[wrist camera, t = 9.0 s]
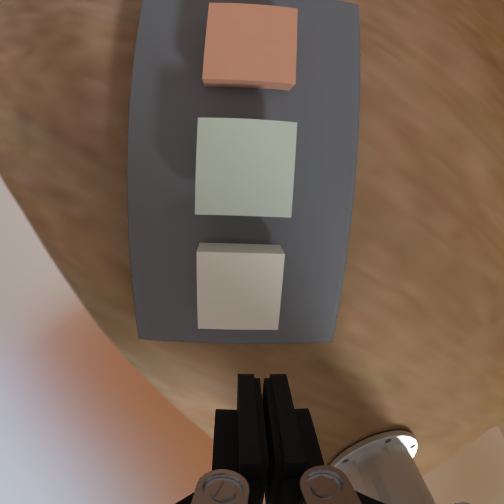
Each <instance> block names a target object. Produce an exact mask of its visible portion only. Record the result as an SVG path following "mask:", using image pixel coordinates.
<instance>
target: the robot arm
mask: <svg viewBox="0 0 504 504" xmlns="http://www.w3.org/2000/svg"><path fill="white" fill-rule="evenodd" d="M417 448H418V442H417V440H416V438H415V436H414V435H413V434H412V433H410V432H408V431H402V430H398V431H389V432H384V433H380V434H377V435H374V436H371V437H369V438H366V439H364V440H362V441H360V442H358V443H356V444H354V445H353V446H351V447H349V448H348V449H346V450H345V451H343V452H342V453H341V454H340V455H338V456H337V457H336V458H335V459H334V460H333V461H332V463H331V464H330V465H329V466H326V465H324V462H323V458H322V454H321V451H320V447H319V444H318V440H317V436H316V433H315V429H314V426H313V422H312V419H311V415H310V412H309V410H308V408H305V409H294V406H293V402H292V397H291V393H290V388H289V384H288V380H287V376H286V374H270V378H264V384H263V395H262V394H261V385H260V378H254V374H238V391H237V410H225V409H216V412H215V427H214V444H213V461H212V471H210V472H208V473H206V474H204V475H203V476H202V477H201V478H200V479H199V481H198V483H197V485H196V489H195V492H194V493H192V494H191V495H189V496H187V497H186V498H184V499H183V500H181V501H179V502H177V503H176V504H262V503H263V498H264V492H265V502H266V504H436V503H435V501H434V499H433V497H432V495H431V493H430V491H429V489H428V487H427V485H426V483H425V481H424V479H423V478H422V476H421V474H420V472H419V470H418V468H417V466H416V464H415V462H414V460H413V457H414V455H415V453H416V451H417ZM455 504H469V503H466V502H465V503H455Z"/></svg>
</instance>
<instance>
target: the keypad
mask: <svg viewBox="0 0 504 504" xmlns="http://www.w3.org/2000/svg"><path fill="white" fill-rule="evenodd" d="M209 3H243V4H260V5H271V6H281V7H290V8H297V9H298V16H297V56H296V84H295V85H294V86H293V87H292V88H291V89H290V91H288V90H277V89H264V88H248V87H222V86H205V85H204V83H203V80H202V75H203V62H204V49H205V38H206V28H207V18H208V8H209ZM359 109H360V27H359V6H358V5H356V4H352V3H348V2H343V1H339V0H143V1H142V6H141V12H140V18H139V24H138V31H137V38H136V45H135V53H134V62H133V71H132V81H131V93H130V107H129V124H128V152H127V202H128V231H129V249H130V263H131V276H132V287H133V297H134V306H135V314H136V322H137V330H138V337H139V339H147V340H161V341H178V342H199V343H236V344H281V343H318V342H332V340H333V335H334V330H335V324H336V319H337V313H338V308H339V302H340V296H341V290H342V284H343V277H344V271H345V264H346V257H347V250H348V242H349V234H350V226H351V217H352V208H353V199H354V188H355V177H356V164H357V150H358V132H359ZM198 118H241V119H260V120H275V121H287V122H297V136H296V154H295V170H294V186H293V200H292V214H291V218H287V217H263V216H234V215H195V179H196V149H197V126H198ZM199 243H234V244H269V245H280V246H281V248H282V249H283V251H284V253H285V259H284V271H283V282H282V293H281V304H280V314H279V324H278V330H231V329H198V315H197V249H198V246H199Z"/></svg>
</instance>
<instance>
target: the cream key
mask: <svg viewBox="0 0 504 504" xmlns="http://www.w3.org/2000/svg"><path fill="white" fill-rule="evenodd" d="M284 259H285V253H284V251H283V249H282V248H281V246H280V245H269V244H234V243H199V246H198V249H197V315H198V329H231V330H278V324H279V314H280V304H281V293H282V282H283V271H284Z"/></svg>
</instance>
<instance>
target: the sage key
mask: <svg viewBox="0 0 504 504" xmlns="http://www.w3.org/2000/svg"><path fill="white" fill-rule="evenodd" d="M296 136H297V122H287V121H275V120H260V119H241V118H198V126H197V149H196V179H195V215H234V216H263V217H287V218H291V214H292V200H293V186H294V170H295V154H296Z"/></svg>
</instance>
